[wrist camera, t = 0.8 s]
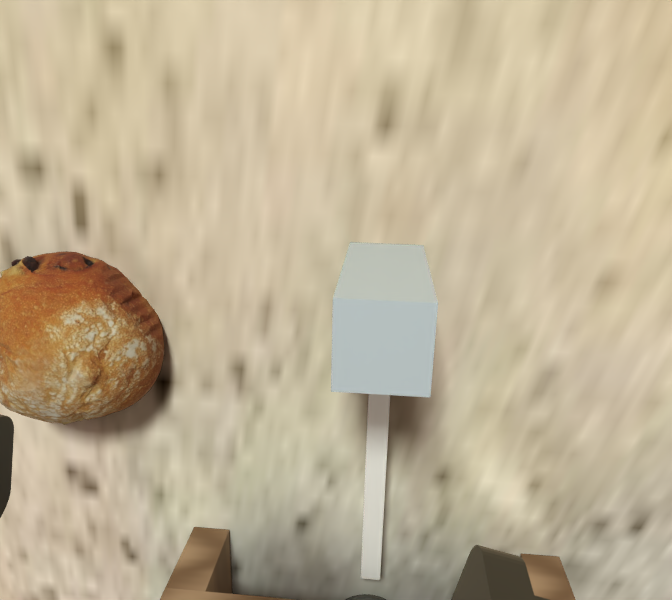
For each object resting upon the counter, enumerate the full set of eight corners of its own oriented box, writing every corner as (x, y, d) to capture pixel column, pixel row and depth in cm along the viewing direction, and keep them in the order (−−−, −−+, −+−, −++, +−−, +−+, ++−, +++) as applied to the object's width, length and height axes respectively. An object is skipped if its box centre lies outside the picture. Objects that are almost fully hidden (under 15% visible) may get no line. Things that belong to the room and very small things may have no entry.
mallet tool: (423, 245, 31) (438, 302, 22) (401, 556, 38) (405, 705, 28) (350, 242, 31) (333, 298, 22) (341, 551, 38) (325, 696, 28)
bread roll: (75, 373, 40) (39, 474, 34) (-43, 269, 33) (-113, 373, 27) (198, 327, 38) (183, 426, 32) (98, 207, 31) (57, 304, 25)
